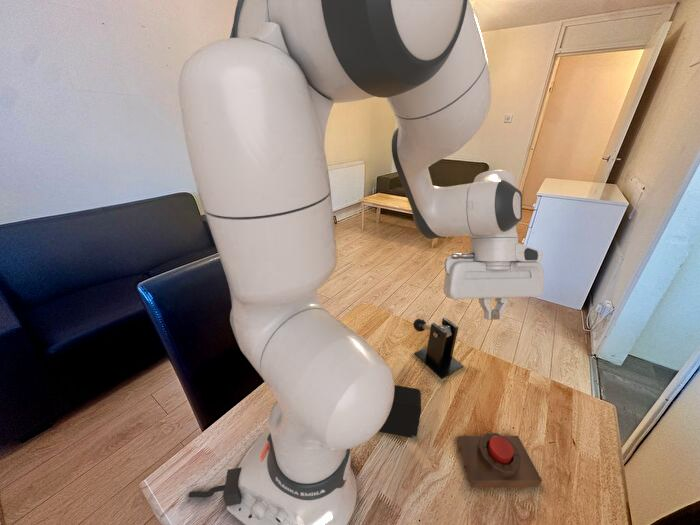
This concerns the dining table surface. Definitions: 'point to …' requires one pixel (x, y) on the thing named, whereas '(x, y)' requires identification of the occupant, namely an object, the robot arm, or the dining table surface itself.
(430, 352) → the bracket
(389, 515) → the dining table surface
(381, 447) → the dining table surface
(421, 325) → the lever
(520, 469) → the button block
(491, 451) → the button
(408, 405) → the electronic device
